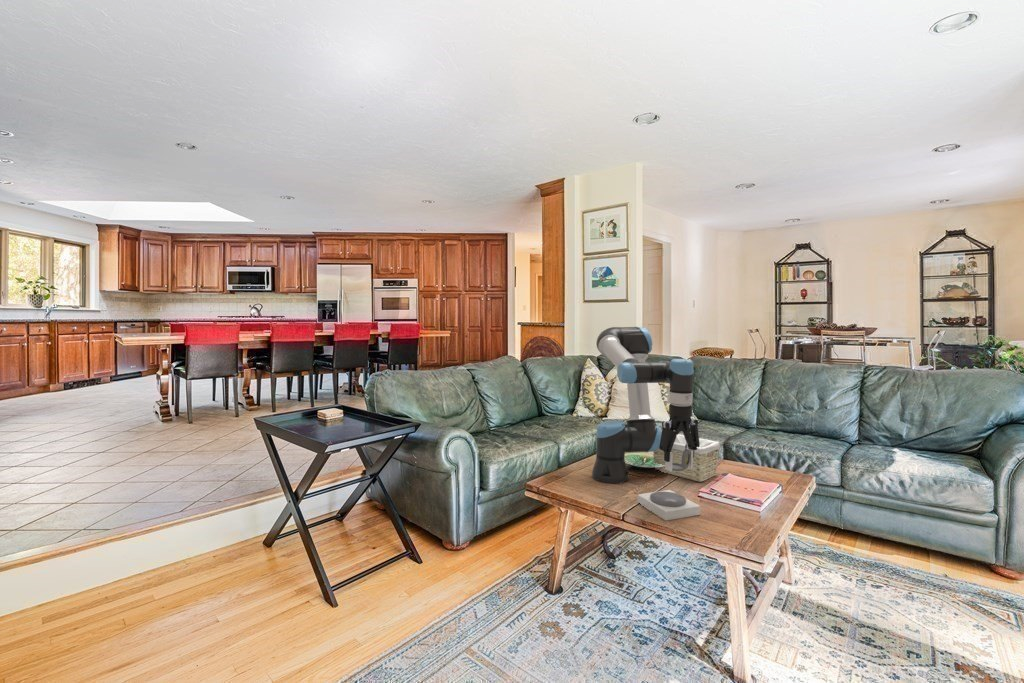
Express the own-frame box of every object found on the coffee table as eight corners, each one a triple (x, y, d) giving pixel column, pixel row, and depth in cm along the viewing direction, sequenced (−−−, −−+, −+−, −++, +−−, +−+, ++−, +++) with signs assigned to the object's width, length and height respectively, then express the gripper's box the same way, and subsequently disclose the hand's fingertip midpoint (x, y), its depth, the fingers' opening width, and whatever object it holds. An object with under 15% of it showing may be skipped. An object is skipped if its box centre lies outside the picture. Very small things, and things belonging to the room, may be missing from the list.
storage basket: (649, 470, 205) (650, 437, 204) (669, 462, 215) (669, 431, 215) (702, 484, 187) (702, 448, 186) (720, 475, 197) (721, 441, 197)
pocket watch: (663, 465, 166) (664, 437, 165) (687, 466, 165) (688, 438, 164) (669, 473, 157) (670, 444, 157) (694, 474, 157) (695, 445, 156)
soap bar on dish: (637, 502, 168) (637, 492, 168) (669, 497, 173) (669, 487, 173) (665, 520, 153) (665, 509, 153) (700, 514, 158) (700, 503, 158)
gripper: (662, 408, 152) (661, 476, 154) (712, 404, 160) (710, 468, 161) (648, 404, 159) (647, 469, 161) (696, 400, 167) (695, 462, 168)
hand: (679, 468), depth 161 cm, fingers closed on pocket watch, 8 cm apart
